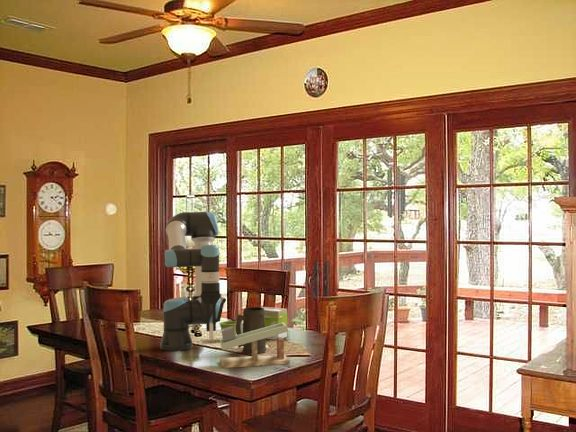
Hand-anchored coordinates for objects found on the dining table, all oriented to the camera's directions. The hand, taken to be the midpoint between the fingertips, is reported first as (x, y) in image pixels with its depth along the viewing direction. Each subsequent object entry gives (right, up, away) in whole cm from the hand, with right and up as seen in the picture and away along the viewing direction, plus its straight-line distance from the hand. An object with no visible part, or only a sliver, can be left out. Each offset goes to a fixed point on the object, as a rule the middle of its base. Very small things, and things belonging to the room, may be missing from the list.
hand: (211, 338), depth 255 cm
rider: (+8, -2, +2) cm, 8 cm away
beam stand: (+18, -11, +4) cm, 21 cm away
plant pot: (+2, -11, +52) cm, 54 cm away
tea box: (+23, -11, +57) cm, 63 cm away
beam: (+18, -1, +4) cm, 18 cm away
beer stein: (+15, -11, +23) cm, 30 cm away
